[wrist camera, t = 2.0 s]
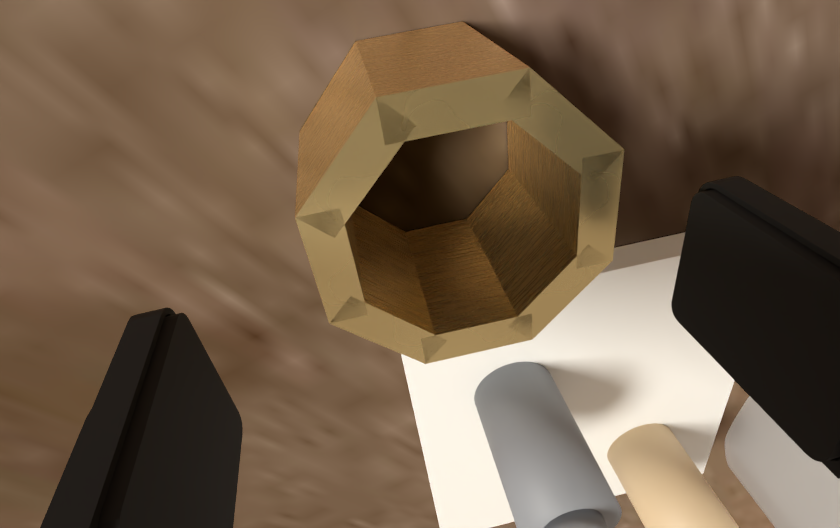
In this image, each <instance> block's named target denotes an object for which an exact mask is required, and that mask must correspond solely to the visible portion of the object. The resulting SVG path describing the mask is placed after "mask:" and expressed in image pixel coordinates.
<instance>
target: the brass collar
mask: <svg viewBox="0 0 840 528" xmlns="http://www.w3.org/2000/svg"><path fill="white" fill-rule="evenodd" d="M505 121H507V140H508V168H509V169H508V170H507V171H506V173H505V174H504V175H503V176H502V177H501V179H500V180H499V181H498V182H497V183H496V185H495V186H494V187H493V188H492V189H491V190H490V192H489V193H488V194H487V195H486V196H485V198H484V199H483V200H482V201H481V202H480V204H479V205H478V206H477V207H476V208H475V210H474V211H473V212H472V213H471V214H470V216H469V217H468V218H467V219H463V220H458V221H454V222H449V223H444V224H439V225H435V226H430V227H425V228H421V229H416V230H411V231H406V232H404V231H403V230H401V229H399V228H397V227H396V226H394V225H392V224H390V223H388V222H387V221H385V220H383V219H381V218H379V217H378V216H376V215H374V214H372V213H371V212H369V211H367V210H365V209H363V208H362V207H360V206H358V205H359V204H360V202H361V201H362V200H363V198H364V197H365V195H366V194H367V193H368V191H369V190H370V189H371V187H372V186H373V184H374V183H375V182H376V180H377V179H378V178H379V176H380V175H381V173H382V172H383V171H384V169H385V168H386V167H387V165H388V164H389V162H390V161H391V160H392V158H393V157H394V155H395V154H396V153H397V151H398V150H399V149H400V147H401V146H402V144H403V143H404V142H405V141H410V140H415V139H420V138H425V137H430V136H435V135H440V134H445V133H450V132H455V131H460V130H465V129H470V128H475V127H480V126H485V125H490V124H495V123H500V122H505ZM623 159H624V149H623V148H622V147H621V146H620V145H619V144H617V143H616V142H615V141H614V140H613V139H612V138H610V137H609V136H608V135H607V134H606V133H605V132H604V131H602V130H601V129H600V128H599V127H598V126H597V125H596V124H594V123H593V122H592V121H591V120H590V119H589V118H588V117H586V116H585V115H584V114H583V113H582V112H581V111H579V110H578V109H577V108H576V107H575V106H574V105H573V104H571V103H570V102H569V101H568V100H567V99H566V98H565V97H563V96H562V95H561V94H560V93H559V92H558V91H557V90H555V89H554V88H553V87H552V86H551V85H550V84H548V83H547V82H546V81H545V80H544V79H543V78H542V77H540V76H539V75H538V74H537V73H536V72H535V71H534V70H532V69H531V68H530V67H529V66H527V65H526V64H524V63H523V62H521V61H520V60H518V59H517V58H516V57H514V56H513V55H511V54H510V53H508V52H507V51H505V50H504V49H502V48H501V47H499V46H498V45H496V44H495V43H494V42H492V41H491V40H489V39H488V38H486V37H485V36H483V35H482V34H480V33H479V32H477V31H476V30H474V29H473V28H472V27H470V26H469V25H467V24H466V23H464V22H463V21H462V22H456V23H451V24H445V25H440V26H434V27H429V28H424V29H418V30H413V31H407V32H402V33H397V34H391V35H386V36H380V37H375V38H369V39H364V40H359V41H355V43H354V45H353V46H352V48H351V49H350V51H349V53H348V54H347V56H346V57H345V59H344V61H343V62H342V64H341V65H340V67H339V69H338V70H337V72H336V73H335V75H334V77H333V78H332V80H331V81H330V83H329V85H328V86H327V88H326V89H325V91H324V93H323V94H322V96H321V97H320V99H319V101H318V102H317V104H316V105H315V107H314V109H313V110H312V112H311V113H310V115H309V117H308V118H307V120H306V121H305V123H304V125H303V126H302V128H301V129H300V136H299V154H298V173H297V191H296V210H295V219H296V222H297V225H298V228H299V231H300V234H301V237H302V240H303V244H304V247H305V250H306V253H307V256H308V259H309V262H310V265H311V268H312V271H313V274H314V278H315V281H316V284H317V287H318V290H319V293H320V296H321V299H322V302H323V305H324V308H325V311H326V315H327V318H328V321H329V324H332V325H334V326H337V327H339V328H341V329H344V330H346V331H348V332H351V333H353V334H356V335H358V336H360V337H363V338H365V339H367V340H370V341H372V342H374V343H377V344H379V345H382V346H384V347H386V348H389V349H391V350H393V351H396V352H398V353H401V354H403V355H405V356H408V357H410V358H412V359H415V360H417V361H419V362H422V363H424V364H428V363H433V362H437V361H441V360H446V359H450V358H454V357H459V356H463V355H467V354H472V353H476V352H481V351H485V350H489V349H494V348H498V347H502V346H507V345H511V344H515V343H520V342H524V341H529V340H532V339H533V338H535V337H536V336H537V335H538V334H539V333H540V332H541V331H542V330H543V329H544V328H545V327H546V326H547V325H548V324H549V323H550V322H551V321H552V320H553V319H554V318H555V317H556V316H557V315H558V314H559V313H560V312H561V311H562V310H563V309H564V308H565V307H566V306H567V305H568V304H569V303H570V302H571V301H572V300H573V299H574V298H575V297H576V296H577V295H578V294H579V293H580V292H581V291H582V290H583V289H584V288H585V287H586V286H587V285H588V284H590V283H591V282H592V281H593V280H594V279H595V278H596V277H597V276H598V275H599V274H600V273H601V272H602V271H603V270H604V269H605V268H606V267H607V266H608V265H609V264H610V263H611V262H612V261H613V252H614V243H615V234H616V224H617V215H618V206H619V196H620V187H621V178H622V168H623Z"/></svg>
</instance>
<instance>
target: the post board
mask: <svg viewBox="0 0 840 528" xmlns="http://www.w3.org/2000/svg"><path fill="white" fill-rule="evenodd" d="M684 237H685V232H684V233H680V234H675V235H670V236H666V237H661V238H657V239H652V240H648V241H643V242H639V243H634V244H629V245H625V246H620V247H616V248H614V252H613V261H612V262H611V263H610V264H609V265H608V266H607V267H606V268H605V269H604V270H603V271H602V272H601V273H600V274H599V275H598V276H597V277H596V278H595V279H594V280H593V281H592V282H591V283H590V284H588V285H587V286H586V287H585V288H584V289H583V290H582V291H581V292H580V293H579V294H578V295H577V296H576V297H575V298H574V299H573V300H572V301H571V302H570V303H569V304H568V305H567V306H566V307H565V308H564V309H563V310H562V311H561V312H560V313H559V314H558V315H557V316H556V317H555V318H554V319H553V320H552V321H551V322H550V323H549V324H548V325H547V326H546V327H545V328H544V329H543V330H542V331H541V332H540V333H539V334H538V335H537V336H536V337H535V338H533V339H532V340H529V341H524V342H520V343H515V344H511V345H507V346H502V347H498V348H494V349H489V350H485V351H481V352H476V353H472V354H467V355H463V356H459V357H454V358H450V359H446V360H441V361H437V362H433V363H428V364H424V363H422V362H419V361H417V360H415V359H412V358H410V357H408V356H405V355H403V354H401V356H402V360H403V365H404V369H405V374H406V378H407V382H408V387H409V391H410V396H411V400H412V405H413V409H414V414H415V418H416V423H417V427H418V432H419V436H420V441H421V445H422V450H423V454H424V459H425V463H426V468H427V472H428V477H429V481H430V486H431V490H432V495H433V499H434V504H435V508H436V513H437V517H438V522H439V526H440V528H490V527H494V526H498V525H502V524H506V523H510V522H514V521H515V524H516V527H517V528H614V527H615V526H616V525H617V524H618V522H619V520H620V518H621V514H622V511H621V507H620V505H619V503H618V501H617V499H616V498H615V496H616V495H620V494H624V493H627V495H628V497H629V499H630V501H631V502H632V504H633V506H634V508H635V510H636V512H637V513H638V515H639V517H640V519H641V521H642V523H643V524H644V526H645V528H739V526H738V525H737V524H736V522H735V521H734V519H733V518H732V516H731V515H730V514H729V512H728V511H727V509H726V508H725V506H724V505H723V504H722V502H721V501H720V499H719V498H718V497H717V495H716V494H715V492H714V491H713V489H712V488H711V487H710V485H709V484H708V482H707V481H706V479H705V478H704V477H703V475H702V474H703V472H704V469H705V466H706V463H707V460H708V457H709V454H710V451H711V448H712V445H713V443H714V440H715V437H716V434H717V431H718V428H719V425H720V422H721V419H722V416H723V413H724V410H725V407H726V404H727V401H728V398H729V395H730V392H731V389H732V386H733V383H734V379H733V378H732V377H731V376H730V375H729V374H728V373H727V372H726V371H725V370H724V369H723V368H722V367H721V366H720V365H719V364H718V363H717V362H716V361H715V359H714V358H713V357H712V356H711V355H710V354H709V353H708V352H707V351H706V350H705V349H704V348H703V347H702V346H701V345H700V344H699V343H698V342H697V341H696V340H695V339H694V338H693V337H692V336H691V335H690V334H689V333H688V332H687V331H686V329H685V328H684V327H683V326H682V325H681V324H680V323H679V322H678V321H677V320H676V318H675V317H674V315H673V312H672V307H671V302H672V297H673V292H674V287H675V282H676V277H677V272H678V267H679V262H680V257H681V252H682V247H683V242H684Z"/></svg>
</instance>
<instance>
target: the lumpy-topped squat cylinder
mask: <svg viewBox="0 0 840 528" xmlns="http://www.w3.org/2000/svg"><path fill="white" fill-rule="evenodd" d="M725 454H726V460H727V463H728V466H729V467H730V469H731V470H732V471H733V473H734V474H735V475H736V477H737V478H738V479H739V481H740V482H741V483H742V485H743V486H744V487H745V489H746V490H747V491H748V492H749V494H750V495H751V496H752V498H753V499H754V500H755V502H756V503H757V504H758V506H759V507H760V508H761V510H762V511H763V512H764V513H765V515H766V516H767V517H768V519H769V520H770V521H771V523H772V524H773V525H774V527H775V528H840V479H838V478H837V477H836V476H835V475H834V474H833V473H832V472H831V471H830V470H829V469H828V468H827V467H826V466H825V465H824V464H823V463H822V462H818V461H815V460H813V459H812V458H810V457H809V456H808V455H807V454H805V453H804V452H803V451H802V449H801V448H800V447H799V446H798V445H797V444H796V443H795V442H794V441H793V440H792V439H791V438H790V437H789V436H788V435H787V434H786V433H785V432H784V431H783V430H782V429H781V428H780V427H779V426H778V425H777V424H776V423H775V422H774V421H773V419H772V418H771V417H770V416H769V415H768V414H767V413H766V412H765V411H764V410H763V409H762V408H761V407H760V406H759V405H758V404H757V403H756V402H755V401H754V400H753V399H752V398H751V397H750V396H749V397H748V399H747V400H746V402H745V403H744V405H743V406H742V408H741V410H740V411H739V413H738V414H737V416H736V418H735V419H734V421H733V423H732V425H731V427H730V429H729V431H728V433H727V435H726V438H725Z"/></svg>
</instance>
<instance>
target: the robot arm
mask: <svg viewBox="0 0 840 528" xmlns="http://www.w3.org/2000/svg"><path fill="white" fill-rule="evenodd" d="M671 307H672V312H673V315H674V317H675V318H676V320H677V321H678V322H679V323H680V324H681V325H682V326H683V327H684V328H685V329H686V331H687V332H688V333H689V334H690V335H691V336H692V337H693V338H694V339H695V340H696V341H697V342H698V343H699V344H700V345H701V346H702V347H703V348H704V349H705V350H706V351H707V352H708V353H709V354H710V355H711V356H712V357H713V358H714V359H715V361H716V362H717V363H718V364H719V365H720V366H721V367H722V368H723V369H724V370H725V371H726V372H727V373H728V374H729V375H730V376H731V377H732V378H733V379H734V380H735V381H736V382H737V383H738V384H739V385H740V386H741V387H742V388H743V389H744V391H745V392H746V393H747V394H748V395H749V396H750V397H751V398H752V399H753V400H754V401H755V402H756V403H757V404H758V405H759V406H760V407H761V408H762V409H763V410H764V411H765V412H766V413H767V414H768V415H769V416H770V417H771V418H772V419H773V421H774V422H775V423H776V424H777V425H778V426H779V427H780V428H781V429H782V430H783V431H784V432H785V433H786V434H787V435H788V436H789V437H790V438H791V439H792V440H793V441H794V442H795V443H796V444H797V445H798V446H799V447H800V448H801V449H802V451H803V452H804V453H805V454H807V455H808V456H809V457H810V458H812V459H813V460H815V461H818V462H822V463H823V464H824V465H825V466H826V467H827V468H828V469H829V470H830V471H831V472H832V473H833V474H834V475H835V476H836V477H837V478H838V479H840V232H838V231H837V230H835V229H833V228H831V227H830V226H828V225H826V224H824V223H822V222H821V221H819V220H817V219H815V218H814V217H812V216H810V215H808V214H807V213H805V212H803V211H801V210H799V209H798V208H796V207H794V206H792V205H791V204H789V203H787V202H785V201H783V200H782V199H780V198H778V197H776V196H775V195H773V194H771V193H769V192H768V191H766V190H764V189H762V188H760V187H759V186H757V185H755V184H753V183H752V182H750V181H748V180H746V179H745V178H742V177H739V176H734V177H729V178H725V179H721V180H716V181H712V182H708V183H705V184H704V185H702V187H701V188H700V189H699V192H698V193H697V194H695V195H694V197H693V199H692V201H691V206H690V211H689V216H688V221H687V226H686V232H685V237H684V242H683V247H682V252H681V257H680V262H679V267H678V272H677V277H676V282H675V287H674V292H673V297H672V302H671ZM241 442H242V421H241V417H240V414H239V412H238V410H237V408H236V406H235V404H234V402H233V401H232V399H231V397H230V395H229V393H228V391H227V389H226V388H225V386H224V384H223V382H222V380H221V378H220V376H219V375H218V373H217V371H216V369H215V367H214V365H213V363H212V362H211V360H210V358H209V356H208V354H207V352H206V350H205V348H204V347H203V345H202V343H201V341H200V339H199V337H198V335H197V334H196V332H195V330H194V328H193V326H192V324H191V322H190V321H189V319H188V317H187V316H186V315H185V314H184V313H179V314H175V312H174V311H173V310H172V309H170V308H163V309H159V310H155V311H150V312H146V313H142V314H137V315H134V316H132V317H131V318H130V319H129V321H128V323H127V325H126V328H125V330H124V333H123V335H122V337H121V340H120V342H119V345H118V347H117V350H116V352H115V354H114V357H113V359H112V362H111V364H110V366H109V369H108V371H107V374H106V376H105V378H104V381H103V383H102V386H101V388H100V390H99V393H98V395H97V398H96V400H95V402H94V405H93V407H92V409H91V411H90V413H89V414H88V416H87V418H86V420H85V422H84V425H83V427H82V429H81V432H80V434H79V437H78V439H77V441H76V444H75V446H74V448H73V451H72V453H71V456H70V458H69V460H68V463H67V465H66V468H65V470H64V472H63V475H62V477H61V479H60V482H59V484H58V487H57V489H56V491H55V494H54V496H53V499H52V501H51V503H50V506H49V508H48V510H47V513H46V515H45V518H44V520H43V522H42V525H41V527H40V528H233V522H234V512H235V502H236V492H237V482H238V472H239V462H240V452H241Z"/></svg>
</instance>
